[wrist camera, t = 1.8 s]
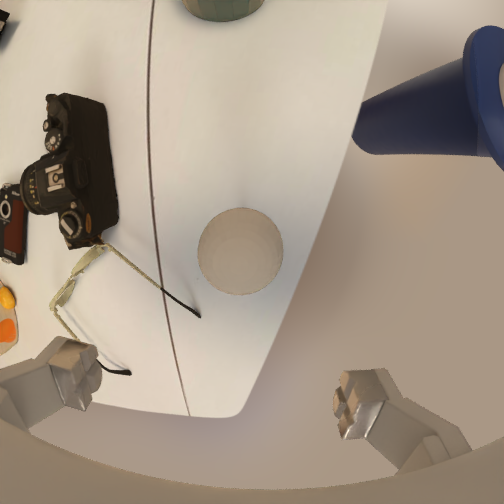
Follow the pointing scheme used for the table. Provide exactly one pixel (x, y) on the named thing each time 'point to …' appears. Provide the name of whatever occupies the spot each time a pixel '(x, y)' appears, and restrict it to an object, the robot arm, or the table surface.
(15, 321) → the shape sorter
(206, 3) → the teal pot
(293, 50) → the table surface
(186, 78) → the table surface
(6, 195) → the camera
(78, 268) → the eyeglasses
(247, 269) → the lollipop
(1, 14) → the game console
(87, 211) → the film camera
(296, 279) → the table surface
